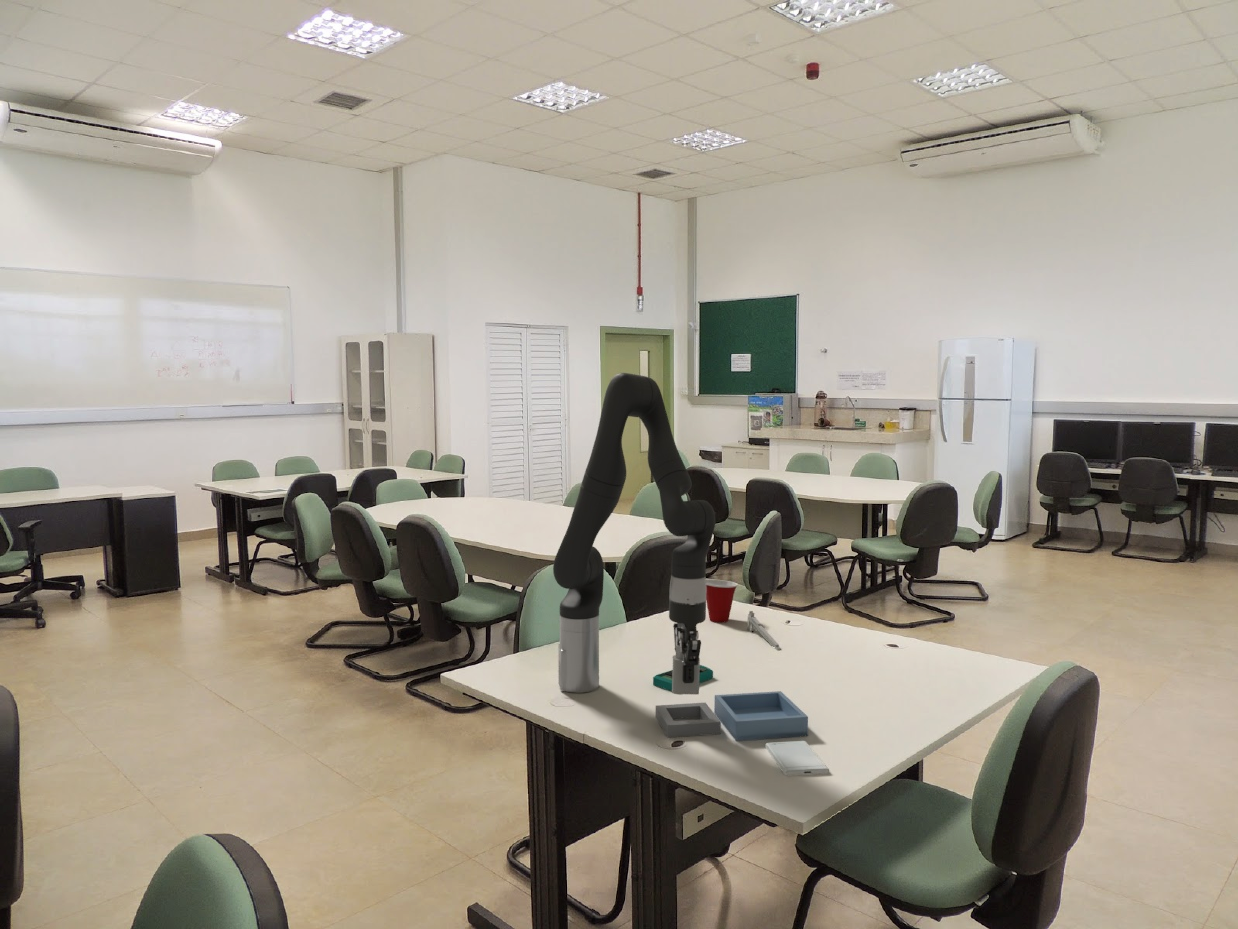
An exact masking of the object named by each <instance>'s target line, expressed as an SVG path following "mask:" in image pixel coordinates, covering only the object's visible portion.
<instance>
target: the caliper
mask: <svg viewBox="0 0 1238 929" xmlns="http://www.w3.org/2000/svg"><path fill="white" fill-rule="evenodd" d="M746 624H747V625H746V626H747V631H748V630H749V632H750V631H754V632H755V633H759V634H760V635H761V636H762V637H763V638H764V639H765V640H766V641H767V643H768V644H769V645H770V646H771V647H772V646H773V647H775V648H776V649H775V648H774V649H775V650H777V651H781V647H780V645H779V643H778V642H777V641H776V640H775V639H774V637H773V636H772V635H771V634H770V633H769V632H768V631H767V630H766V629H765V628H764V627H763V626H762V624H761V622H760V621H759V620H758V619H757V617H755V612H754V611H753V610H750V611H749V612H748V614H747V623H746ZM773 647H772V648H773Z"/></svg>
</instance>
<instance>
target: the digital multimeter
mask: <svg viewBox="0 0 1238 929" xmlns="http://www.w3.org/2000/svg"><path fill="white" fill-rule="evenodd" d="M672 672H673V669H671V670H668V671H665V672H661V673H658V674H656V675H654V676H653V677H652V684H653V686H655V687H657V688H660V689H664V690H667V691H671V692H672ZM713 679H714V671H713V669H711V668H709V667H707V666H705V665H702V664H700V669H699V684H700V683H703V682H706V681H709V680H713Z"/></svg>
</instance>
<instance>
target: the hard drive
mask: <svg viewBox="0 0 1238 929" xmlns="http://www.w3.org/2000/svg"><path fill="white" fill-rule="evenodd" d="M765 749H766V750H767V752H768V753H769V755H770V756H771V758H772V759H773V760H774V761H775V763H776V765H777V766H778V767H779V769H780V770H781V771H782V772H783V775H784V776H786V777H789V776H790V777H791V776H809V775H810V776H811V775H812V776H813V775H823V774H824V775H827V774H828V775H829V774H830V768H828V766H827V765H826V764H825V763H824V762H823V760H822V759H821V758H820V757H819V755H818V754H817V753H816V752H815V751H814V750H813V748H812V747H811V746H810V745H809V744H808V742H807V741H806V740H794V741H793V740H792V741H779V742H778V741H776V742H767V743H765Z"/></svg>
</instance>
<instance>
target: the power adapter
mask: <svg viewBox="0 0 1238 929" xmlns="http://www.w3.org/2000/svg"><path fill="white" fill-rule="evenodd" d="M684 649H685V650H687V648H684ZM689 659H692V657H690V658H689ZM700 660H701V659H700V657H699V661H698V665H694V682H693V683H684V682H683V654H682V653H681V652H680V645H677V646H676V652H675V655H672V670H673V672H672V691H671V692H672V694H673V695H699V693H700V683H699V669H700V665H701V664H700V663H701V661H700Z"/></svg>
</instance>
